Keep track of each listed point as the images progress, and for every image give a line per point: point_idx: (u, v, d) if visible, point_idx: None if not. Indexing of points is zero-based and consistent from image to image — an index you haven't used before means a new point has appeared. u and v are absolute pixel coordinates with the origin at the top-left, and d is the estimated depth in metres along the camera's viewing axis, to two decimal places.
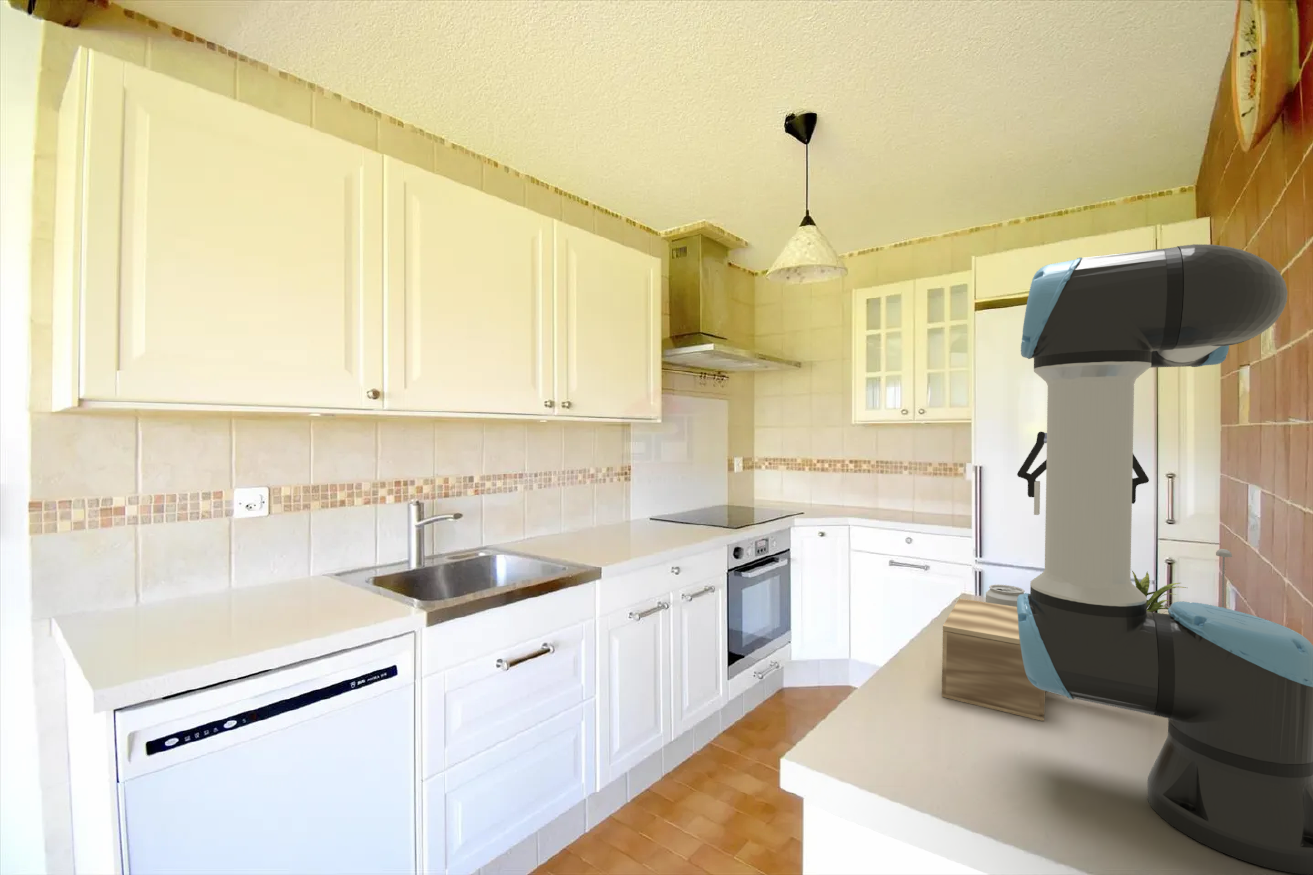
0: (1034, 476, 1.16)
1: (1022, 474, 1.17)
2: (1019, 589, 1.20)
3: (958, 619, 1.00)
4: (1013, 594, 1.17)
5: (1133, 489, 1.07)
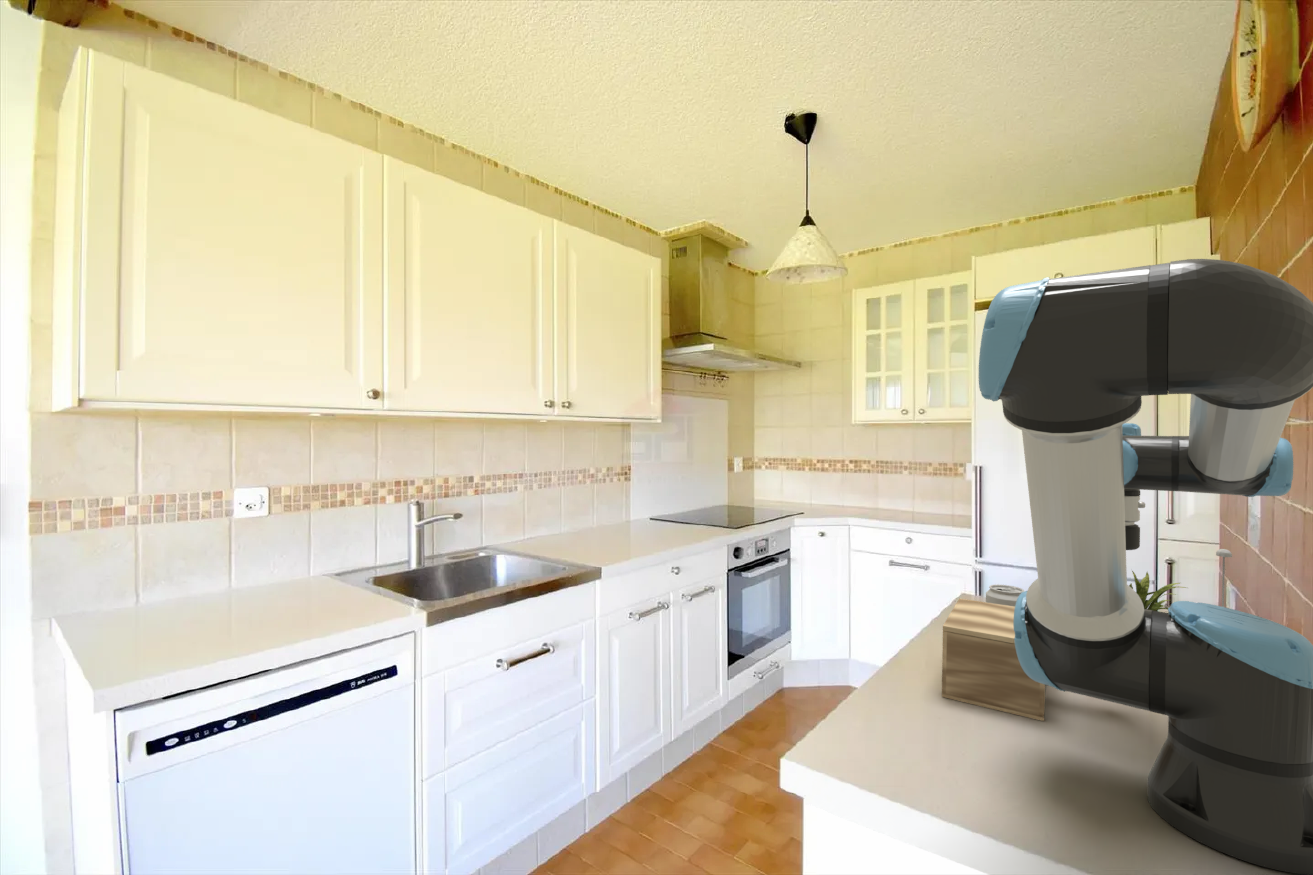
0: None
1: None
2: (1019, 589, 1.20)
3: (958, 619, 1.00)
4: (1013, 594, 1.17)
5: None
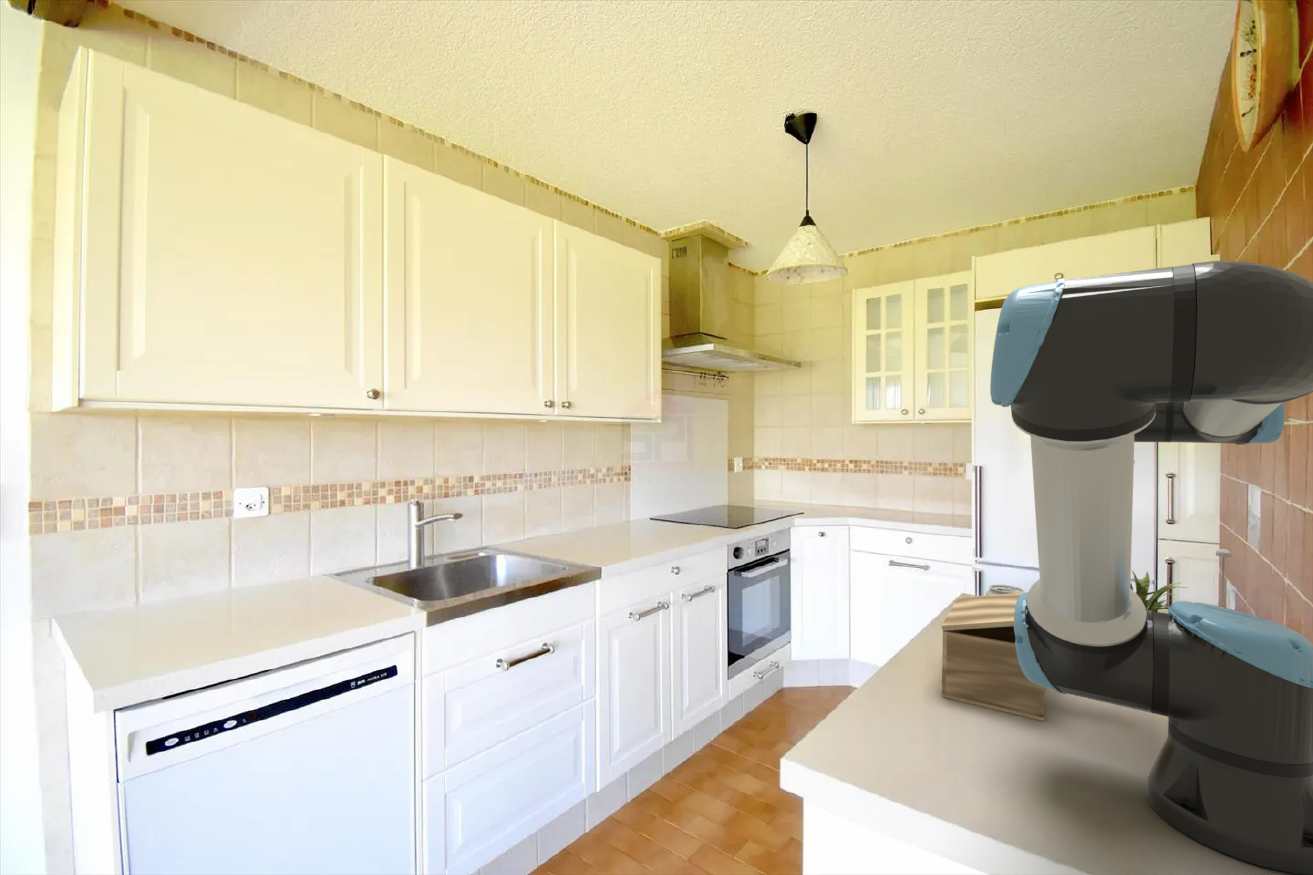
0: None
1: None
2: (1019, 589, 1.20)
3: (956, 616, 1.00)
4: None
5: None
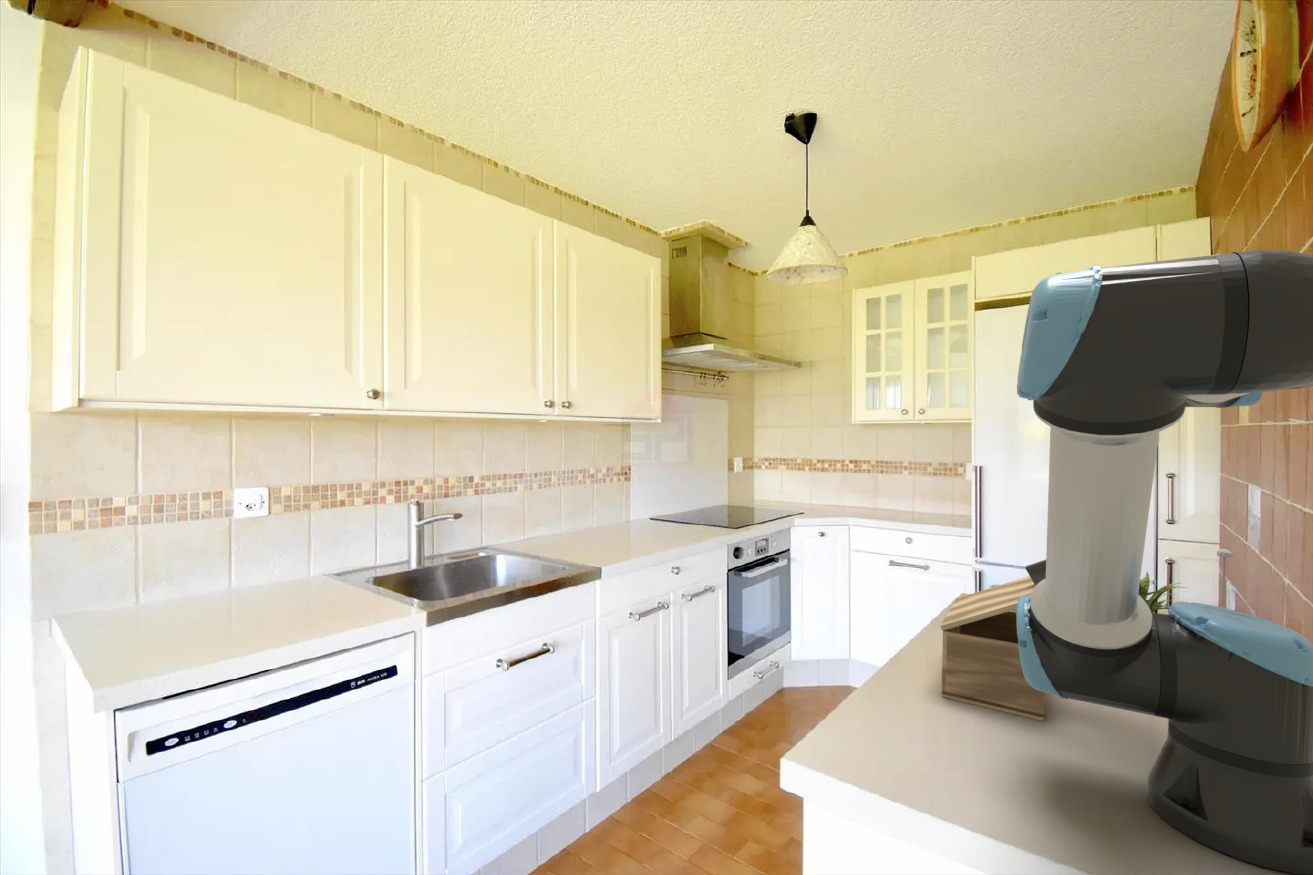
0: None
1: None
2: None
3: (954, 614, 1.00)
4: None
5: None
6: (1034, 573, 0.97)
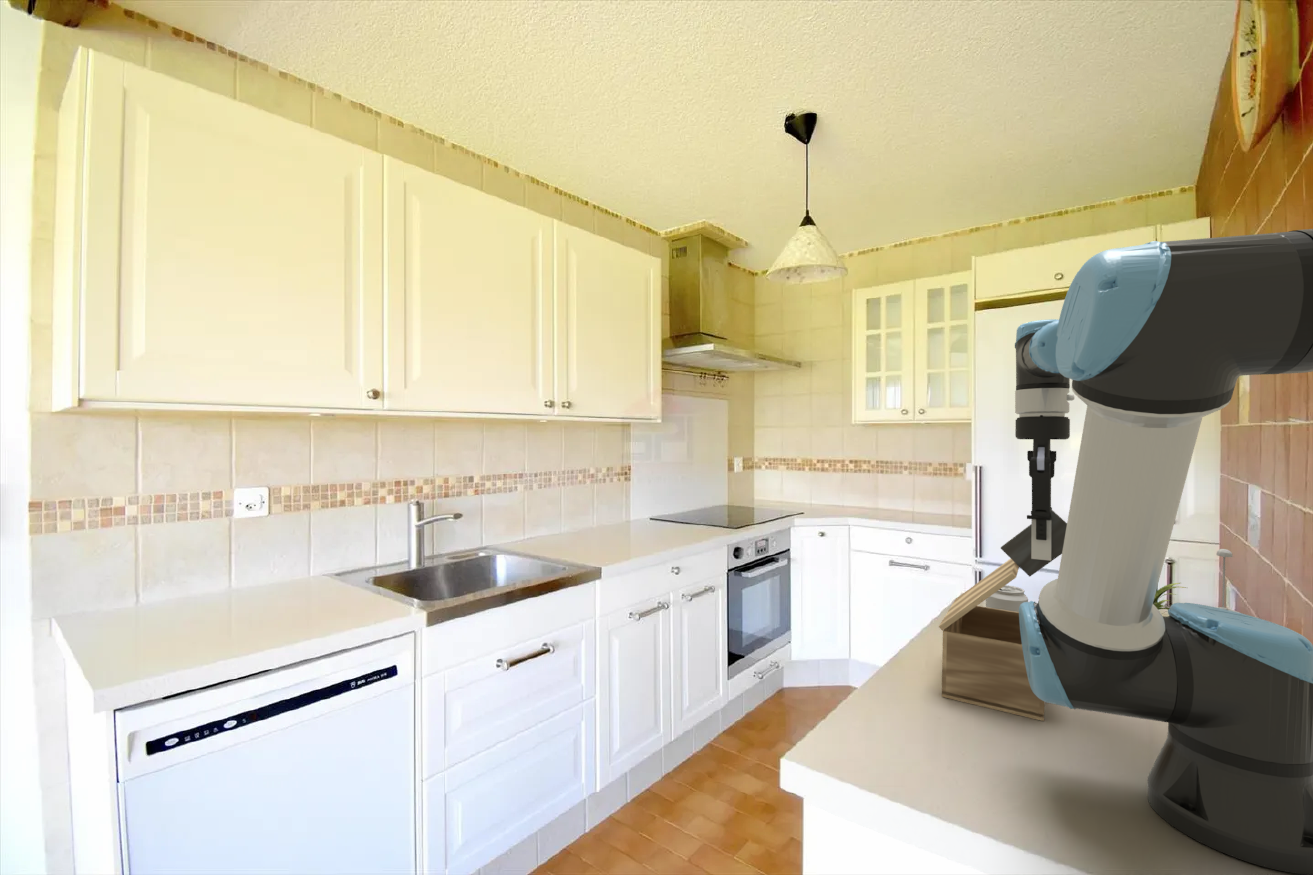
0: None
1: None
2: (1019, 589, 1.20)
3: (951, 612, 1.00)
4: (1013, 594, 1.17)
5: (1036, 523, 0.95)
6: (1010, 551, 0.99)
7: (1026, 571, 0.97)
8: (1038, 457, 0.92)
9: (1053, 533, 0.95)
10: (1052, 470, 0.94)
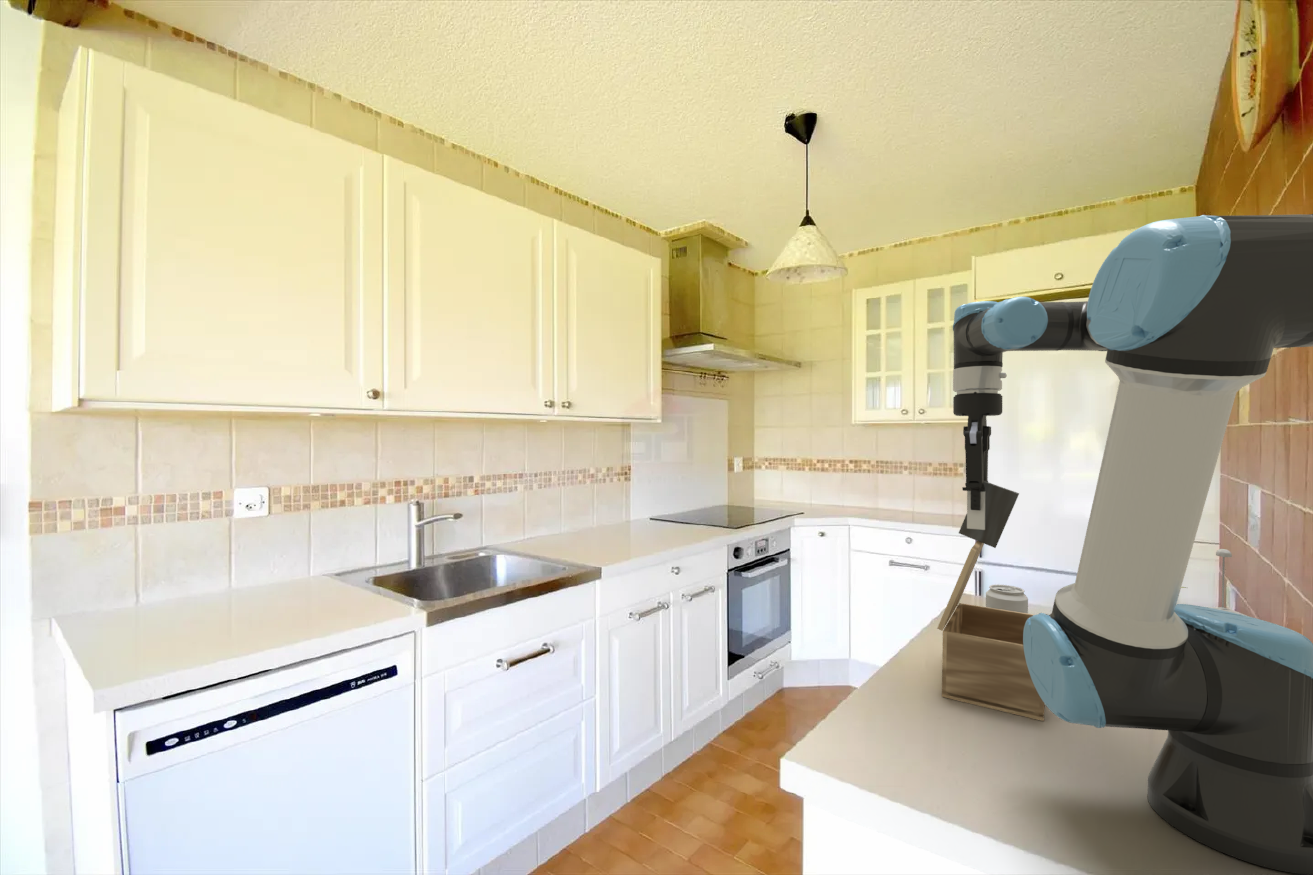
0: None
1: None
2: (1019, 589, 1.20)
3: None
4: (1013, 594, 1.17)
5: (971, 494, 1.01)
6: (967, 532, 1.02)
7: (990, 544, 1.00)
8: (971, 431, 0.97)
9: (993, 499, 1.00)
10: (985, 444, 1.00)
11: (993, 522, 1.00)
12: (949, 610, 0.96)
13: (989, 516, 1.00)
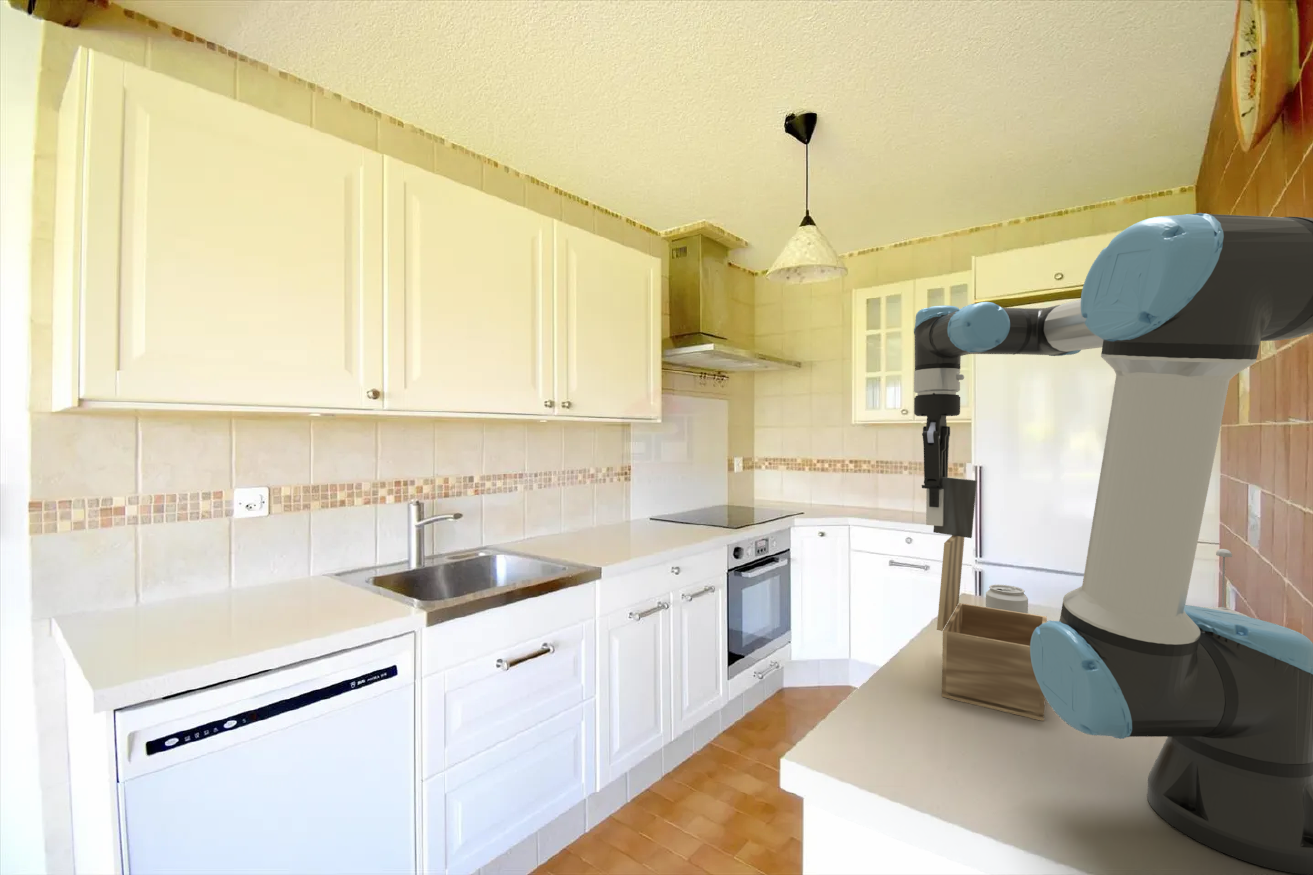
0: None
1: None
2: (1019, 589, 1.20)
3: None
4: (1013, 594, 1.17)
5: None
6: (941, 529, 1.05)
7: (965, 535, 1.03)
8: (928, 431, 1.01)
9: (955, 492, 1.03)
10: (943, 443, 1.03)
11: (961, 513, 1.03)
12: (942, 608, 0.96)
13: (956, 509, 1.03)
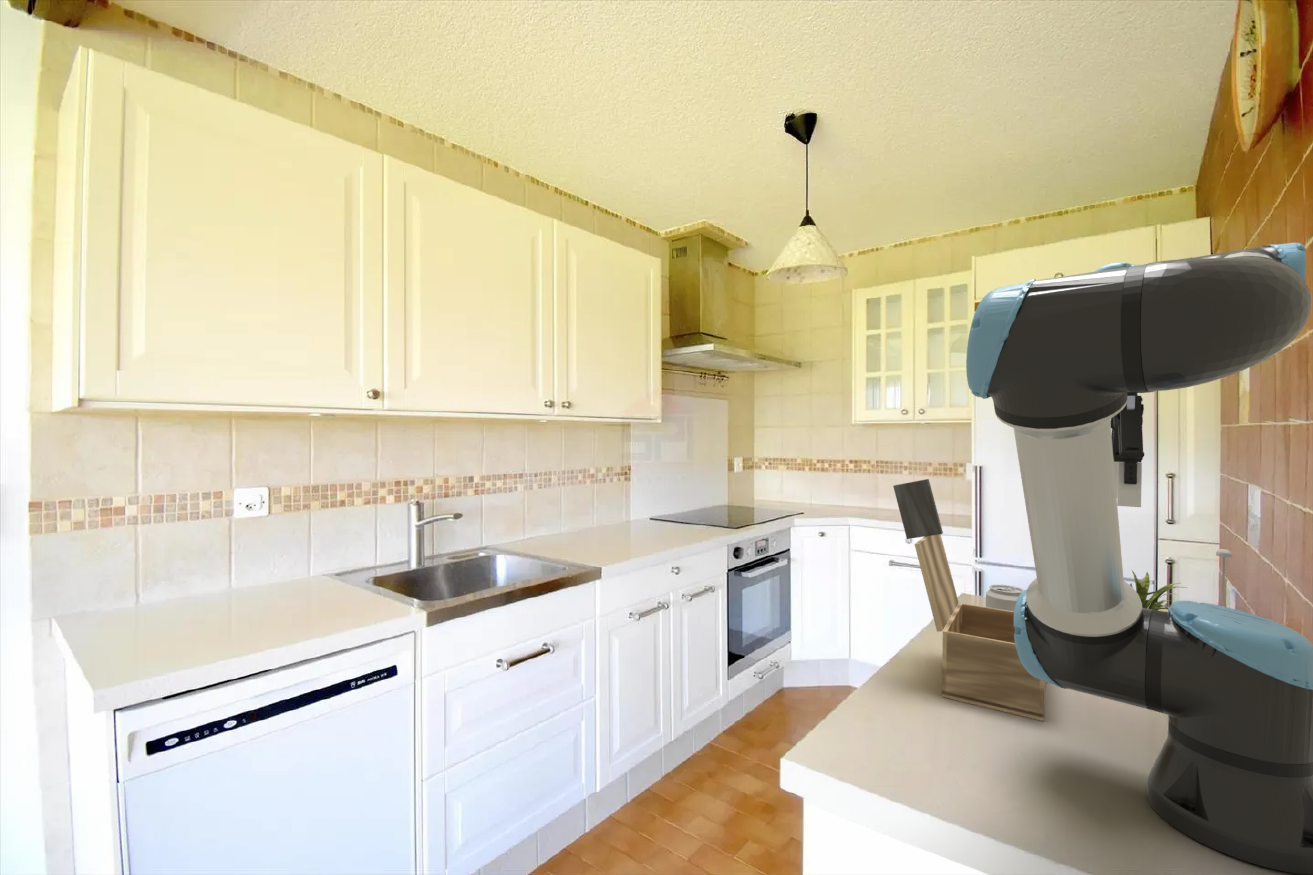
0: None
1: None
2: (1019, 589, 1.20)
3: None
4: (1013, 594, 1.17)
5: (1124, 466, 0.86)
6: (912, 533, 1.07)
7: (935, 533, 1.05)
8: None
9: (912, 495, 1.07)
10: None
11: (925, 513, 1.06)
12: (935, 608, 0.97)
13: (919, 510, 1.07)
